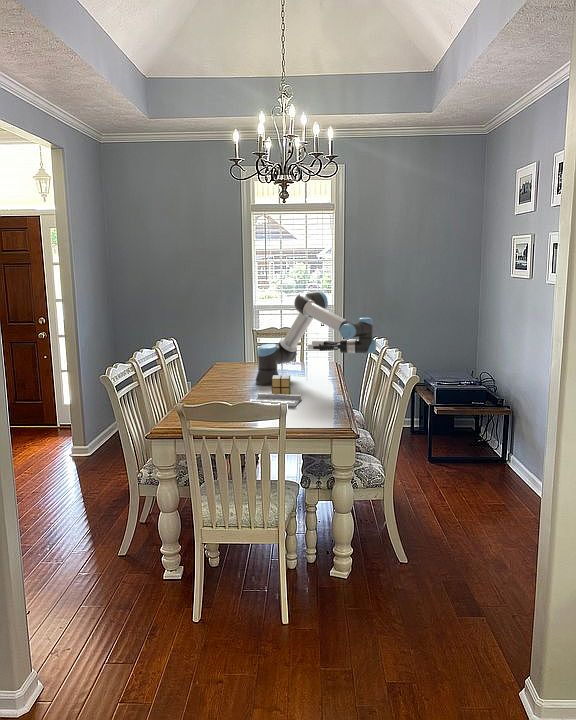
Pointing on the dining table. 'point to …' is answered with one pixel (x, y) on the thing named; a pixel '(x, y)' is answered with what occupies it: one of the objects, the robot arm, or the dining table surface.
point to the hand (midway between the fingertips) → (309, 345)
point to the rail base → (278, 399)
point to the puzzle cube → (281, 384)
